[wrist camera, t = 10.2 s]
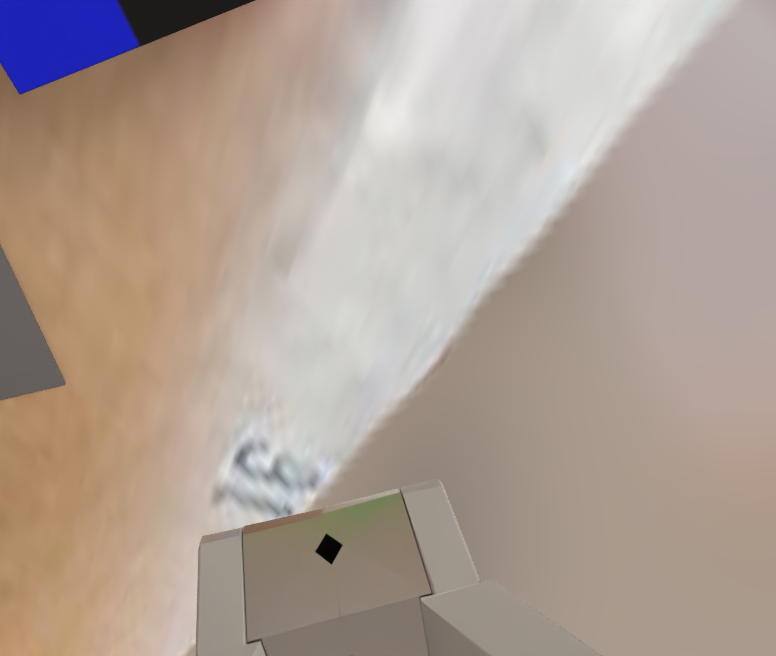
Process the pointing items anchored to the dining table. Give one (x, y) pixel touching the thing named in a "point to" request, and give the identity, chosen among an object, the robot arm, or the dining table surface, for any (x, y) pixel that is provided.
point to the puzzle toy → (87, 32)
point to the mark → (22, 343)
